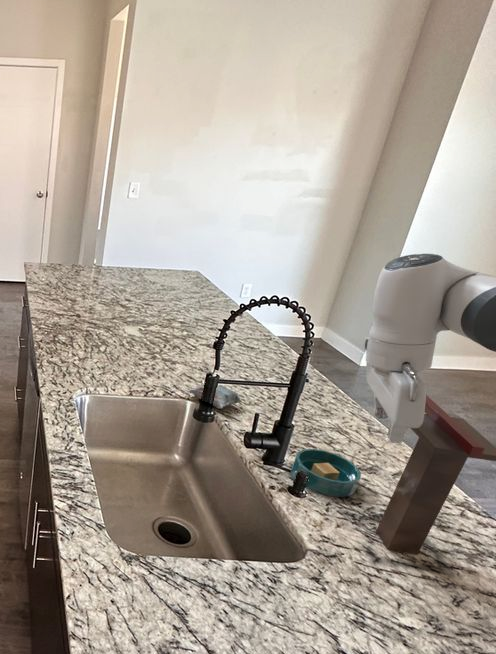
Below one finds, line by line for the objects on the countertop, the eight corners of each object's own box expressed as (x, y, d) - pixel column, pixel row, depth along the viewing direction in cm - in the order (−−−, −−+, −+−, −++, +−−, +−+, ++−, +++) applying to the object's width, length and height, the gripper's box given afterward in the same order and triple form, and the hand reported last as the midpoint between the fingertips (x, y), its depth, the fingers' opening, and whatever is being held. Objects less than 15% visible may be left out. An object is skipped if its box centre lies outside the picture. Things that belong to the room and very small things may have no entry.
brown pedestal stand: (413, 531, 106) (469, 419, 94) (446, 578, 95) (514, 458, 84) (346, 521, 108) (393, 409, 97) (371, 565, 97) (428, 446, 86)
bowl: (340, 471, 123) (347, 453, 121) (362, 506, 112) (370, 487, 110) (283, 463, 125) (289, 445, 123) (299, 496, 114) (306, 477, 112)
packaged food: (220, 415, 144) (224, 399, 142) (184, 396, 153) (188, 380, 151) (240, 408, 148) (245, 392, 146) (204, 390, 157) (208, 374, 155)
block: (323, 475, 120) (328, 462, 119) (334, 486, 117) (340, 472, 115) (308, 476, 120) (313, 463, 118) (319, 486, 116) (325, 473, 115)
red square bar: (411, 391, 103) (414, 384, 103) (480, 456, 84) (485, 448, 83) (402, 390, 104) (405, 383, 103) (469, 455, 84) (473, 446, 83)
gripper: (444, 376, 79) (429, 459, 84) (404, 336, 97) (393, 406, 101) (392, 374, 82) (380, 455, 86) (362, 336, 99) (354, 404, 104)
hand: (387, 428), depth 94 cm, fingers open, 8 cm apart
